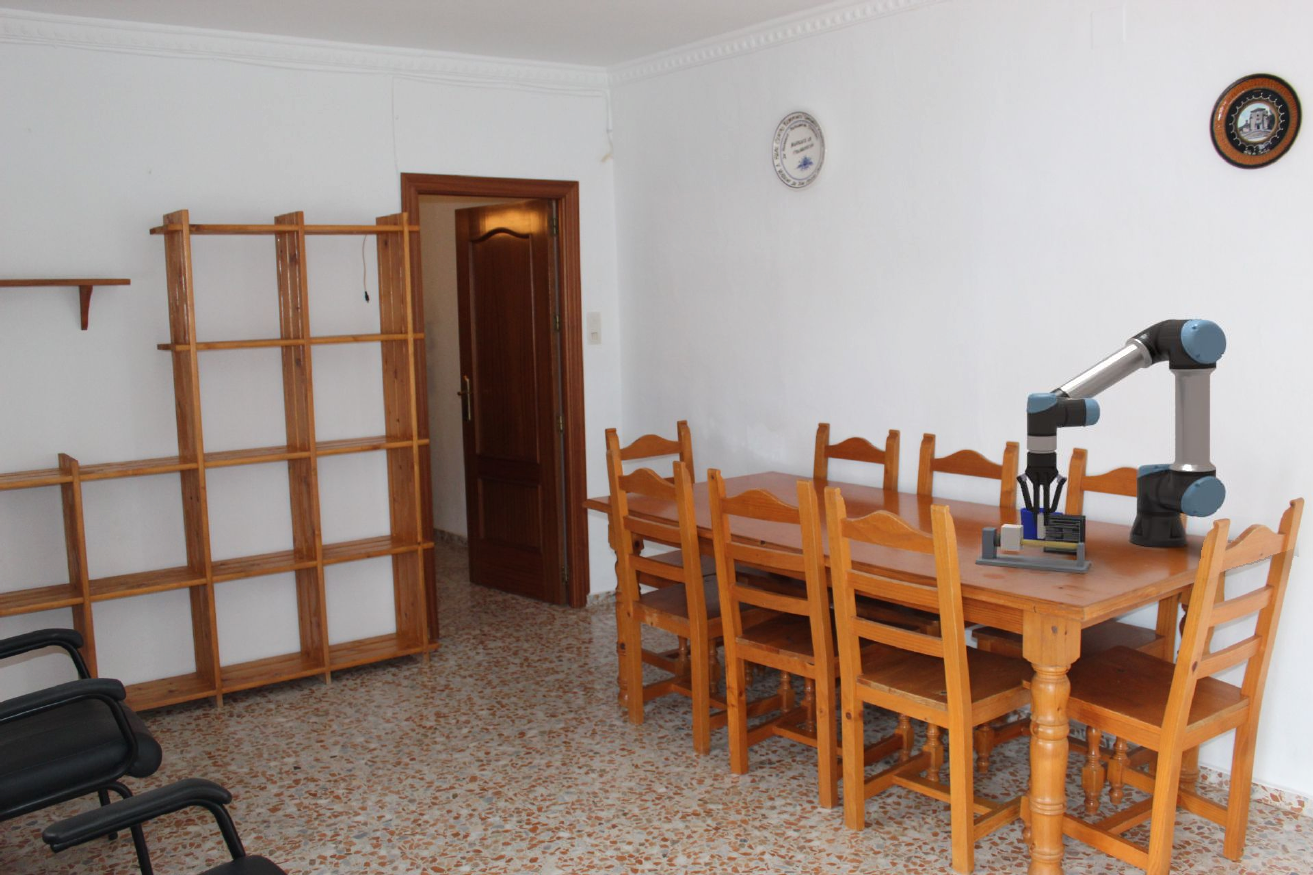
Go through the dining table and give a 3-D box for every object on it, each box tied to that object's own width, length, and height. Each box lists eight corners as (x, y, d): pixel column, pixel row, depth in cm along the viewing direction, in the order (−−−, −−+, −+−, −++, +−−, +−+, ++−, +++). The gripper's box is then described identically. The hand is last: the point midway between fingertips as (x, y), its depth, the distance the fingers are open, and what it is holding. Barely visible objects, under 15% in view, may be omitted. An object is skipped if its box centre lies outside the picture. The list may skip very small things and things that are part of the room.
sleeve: (1023, 548, 289) (1023, 525, 288) (1019, 551, 285) (1019, 528, 284) (1004, 546, 291) (1004, 523, 290) (1000, 549, 287) (1000, 527, 287)
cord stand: (1090, 565, 283) (1091, 532, 282) (1084, 573, 274) (1085, 539, 273) (984, 556, 297) (984, 524, 296) (975, 563, 289) (975, 531, 288)
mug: (1065, 546, 306) (1066, 512, 305) (1022, 545, 308) (1022, 512, 307) (1060, 540, 314) (1061, 507, 313) (1018, 539, 316) (1018, 506, 315)
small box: (1086, 550, 299) (1086, 514, 298) (1082, 555, 294) (1083, 518, 293) (1047, 547, 305) (1047, 512, 304) (1042, 552, 299) (1043, 516, 298)
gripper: (1070, 450, 281) (1069, 536, 284) (1019, 448, 288) (1019, 532, 290) (1064, 453, 275) (1064, 542, 277) (1013, 452, 281) (1013, 538, 284)
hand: (1041, 537), depth 284 cm, fingers closed
